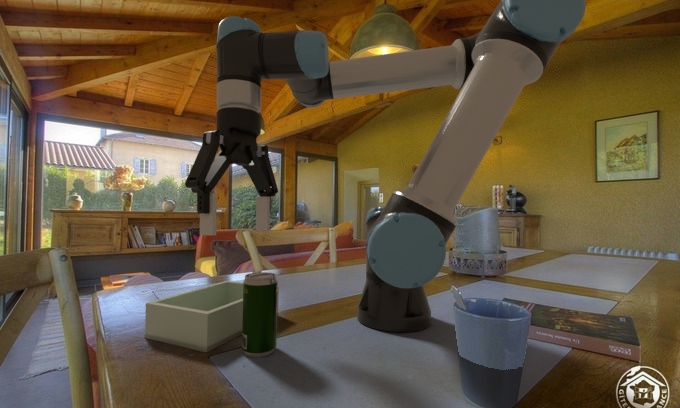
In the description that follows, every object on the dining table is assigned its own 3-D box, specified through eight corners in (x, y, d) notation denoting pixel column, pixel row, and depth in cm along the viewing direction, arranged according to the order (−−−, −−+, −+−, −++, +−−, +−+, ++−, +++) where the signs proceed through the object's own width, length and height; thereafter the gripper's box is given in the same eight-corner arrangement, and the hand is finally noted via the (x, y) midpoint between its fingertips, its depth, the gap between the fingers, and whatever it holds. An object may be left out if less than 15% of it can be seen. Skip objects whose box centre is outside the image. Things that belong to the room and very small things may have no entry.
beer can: (252, 361, 48) (254, 280, 49) (235, 350, 52) (237, 274, 53) (283, 351, 52) (284, 275, 52) (265, 341, 56) (266, 270, 56)
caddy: (278, 315, 70) (278, 287, 70) (206, 352, 51) (207, 314, 51) (226, 307, 75) (227, 280, 75) (144, 337, 57) (145, 303, 57)
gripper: (265, 129, 71) (265, 228, 70) (159, 91, 48) (158, 236, 48) (295, 126, 68) (295, 229, 67) (197, 83, 45) (195, 238, 44)
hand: (238, 232), depth 57 cm, fingers open, 13 cm apart
